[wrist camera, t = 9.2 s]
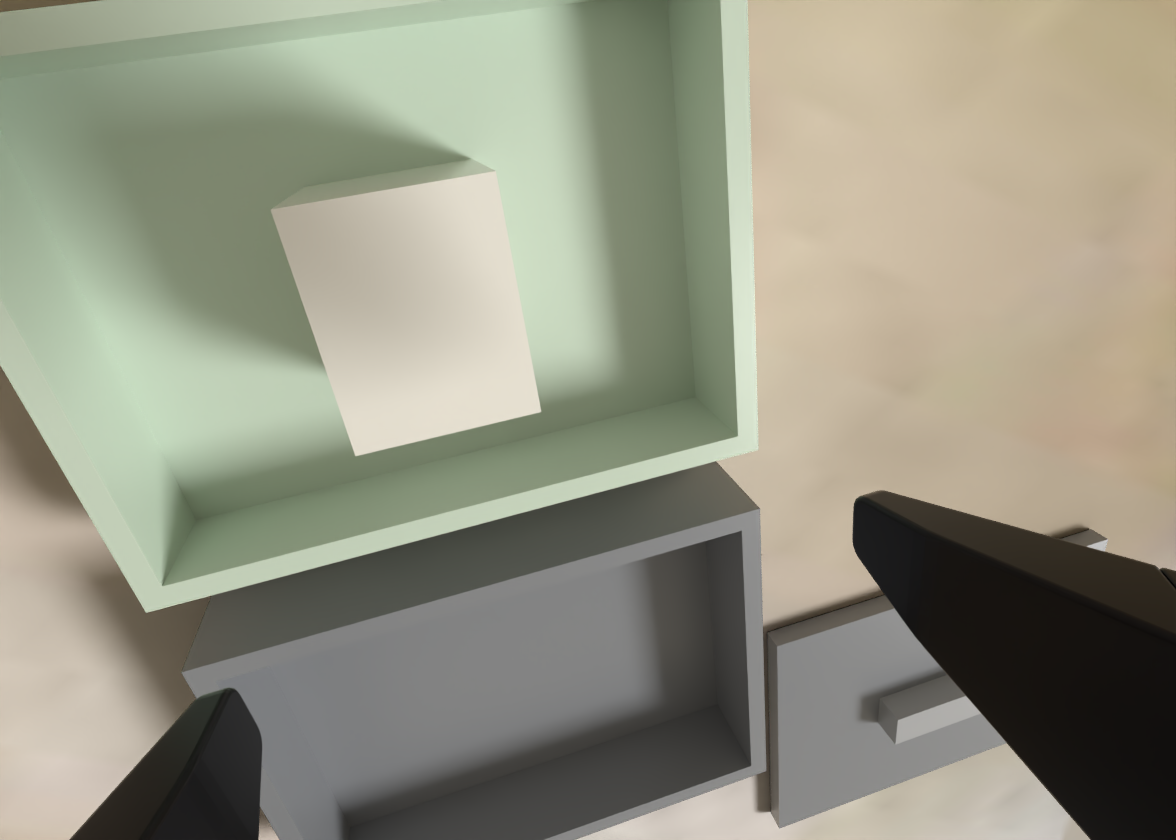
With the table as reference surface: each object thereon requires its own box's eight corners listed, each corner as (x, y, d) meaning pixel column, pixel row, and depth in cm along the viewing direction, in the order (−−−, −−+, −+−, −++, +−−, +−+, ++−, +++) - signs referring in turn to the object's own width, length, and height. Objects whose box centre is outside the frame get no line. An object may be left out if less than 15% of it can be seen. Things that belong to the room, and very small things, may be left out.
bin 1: (188, 531, 19) (146, 612, 15) (-57, 54, 13) (-194, 34, 10) (706, 402, 21) (758, 449, 18) (678, -37, 16) (745, -75, 13)
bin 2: (339, 827, 25) (331, 926, 22) (215, 585, 19) (180, 672, 16) (725, 698, 28) (766, 770, 24) (709, 454, 22) (759, 508, 19)
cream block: (365, 380, 17) (355, 456, 14) (304, 186, 15) (270, 209, 11) (510, 348, 18) (541, 412, 14) (471, 158, 16) (495, 170, 12)
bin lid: (770, 812, 32) (792, 853, 30) (767, 632, 27) (793, 668, 25) (1044, 711, 35) (1078, 743, 33) (1091, 529, 29) (1135, 555, 27)
